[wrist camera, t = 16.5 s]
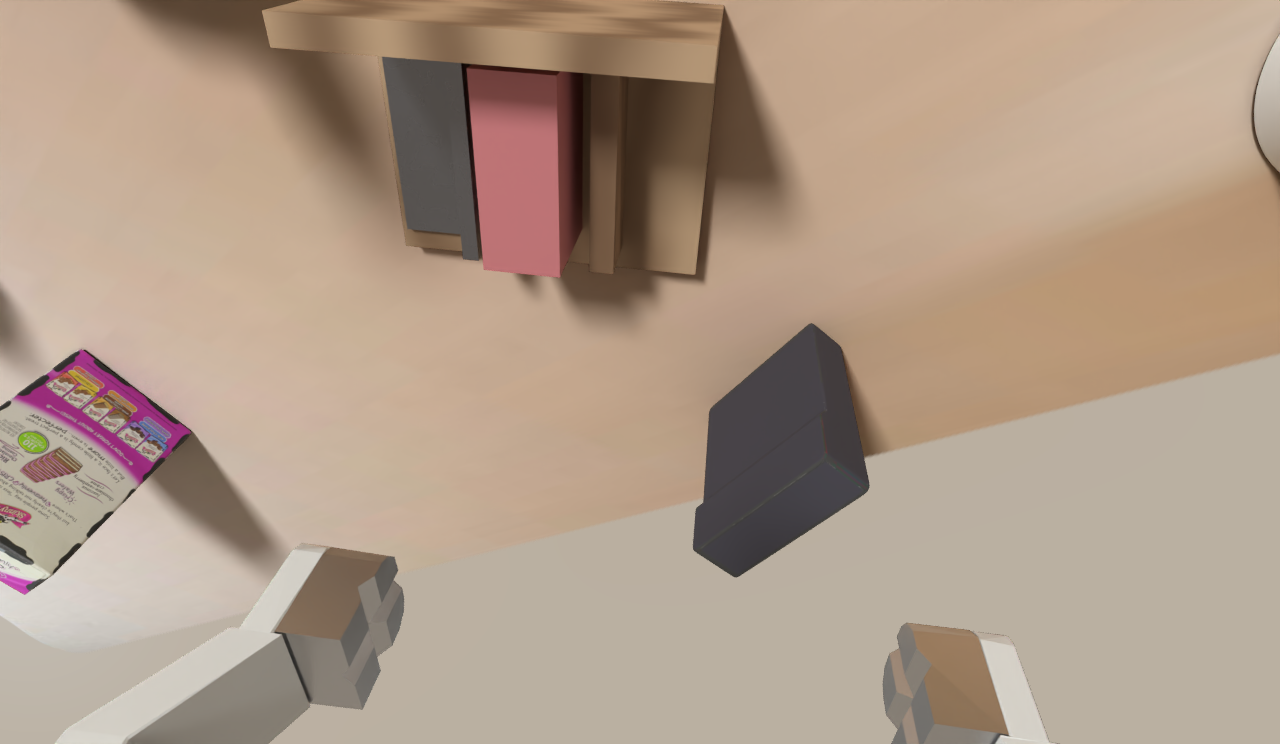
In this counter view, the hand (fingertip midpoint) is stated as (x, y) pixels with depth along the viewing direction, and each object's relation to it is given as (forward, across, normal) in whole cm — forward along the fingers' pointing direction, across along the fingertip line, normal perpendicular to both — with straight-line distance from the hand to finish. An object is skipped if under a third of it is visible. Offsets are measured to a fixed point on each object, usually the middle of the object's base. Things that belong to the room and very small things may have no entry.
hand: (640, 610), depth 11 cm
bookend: (+36, +16, +4) cm, 39 cm away
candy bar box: (+37, +49, +31) cm, 69 cm away
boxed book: (+36, +10, +4) cm, 37 cm away
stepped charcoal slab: (+37, -7, +21) cm, 43 cm away
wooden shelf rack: (+37, +10, +4) cm, 39 cm away
